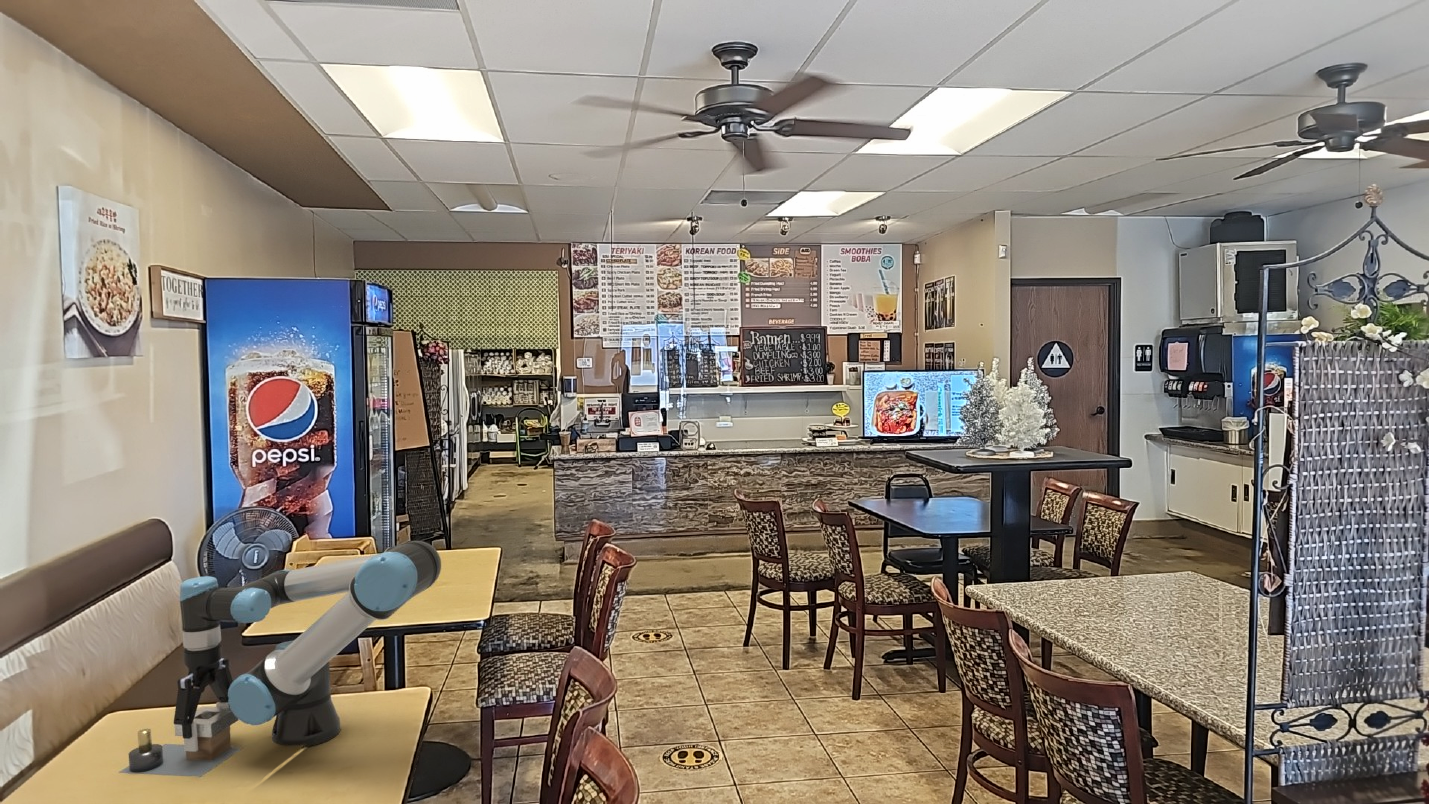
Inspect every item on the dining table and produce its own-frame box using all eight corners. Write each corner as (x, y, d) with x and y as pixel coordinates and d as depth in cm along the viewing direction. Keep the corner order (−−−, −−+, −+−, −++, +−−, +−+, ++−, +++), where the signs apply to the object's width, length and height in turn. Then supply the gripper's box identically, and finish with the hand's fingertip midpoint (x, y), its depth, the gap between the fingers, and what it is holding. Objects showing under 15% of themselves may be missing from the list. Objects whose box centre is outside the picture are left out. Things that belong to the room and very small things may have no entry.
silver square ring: (238, 720, 208) (237, 707, 208) (211, 737, 199) (210, 724, 199) (203, 718, 209) (202, 706, 209) (175, 735, 200) (174, 722, 200)
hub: (170, 759, 202) (167, 725, 201) (148, 773, 195) (146, 738, 195) (144, 758, 203) (142, 724, 202) (122, 771, 196) (119, 736, 196)
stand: (231, 747, 207) (228, 707, 207) (212, 760, 201) (209, 719, 200) (206, 746, 208) (203, 706, 208) (186, 759, 202) (183, 718, 201)
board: (243, 751, 207) (242, 747, 207) (200, 781, 193) (200, 776, 193) (165, 747, 210) (165, 743, 210) (118, 776, 196) (118, 772, 196)
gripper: (221, 629, 215) (226, 718, 216) (149, 663, 192) (156, 762, 194) (249, 629, 214) (254, 719, 215) (181, 663, 191) (187, 763, 193)
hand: (208, 739), depth 204 cm, fingers open, 10 cm apart
